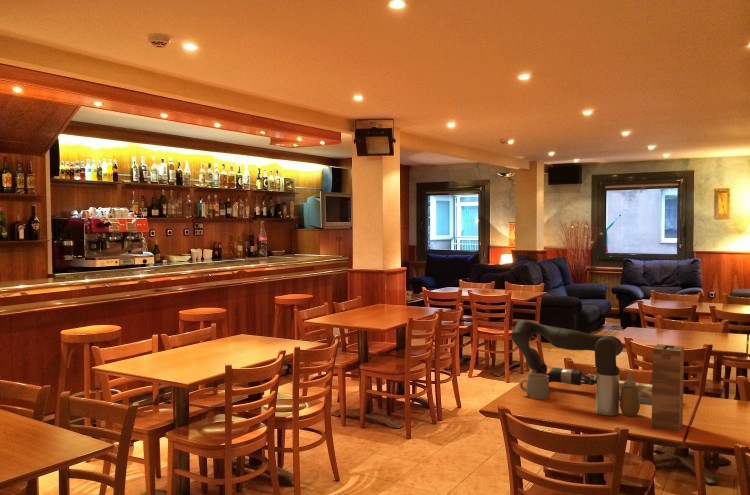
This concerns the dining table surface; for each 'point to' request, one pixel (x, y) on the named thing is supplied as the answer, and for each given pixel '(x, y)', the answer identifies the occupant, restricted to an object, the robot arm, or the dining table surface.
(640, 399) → the board
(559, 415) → the dining table surface
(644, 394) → the bar
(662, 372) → the stand
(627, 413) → the squeeze bottle
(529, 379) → the coffee mug
